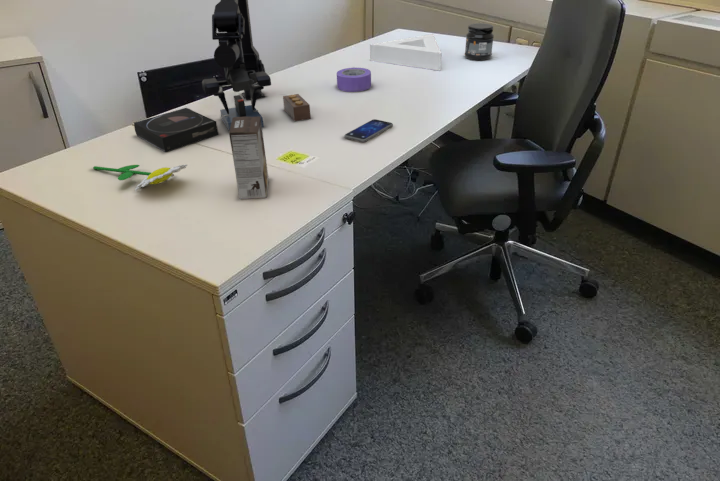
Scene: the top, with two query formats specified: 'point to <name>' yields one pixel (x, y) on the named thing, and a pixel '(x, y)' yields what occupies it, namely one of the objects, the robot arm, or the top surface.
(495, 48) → the top surface
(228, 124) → the dial panel
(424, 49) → the triangle block
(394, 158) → the top surface
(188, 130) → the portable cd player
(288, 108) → the token holder
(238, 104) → the black block red tip
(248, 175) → the coffee box
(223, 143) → the top surface
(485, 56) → the supplement container
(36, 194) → the top surface
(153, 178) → the decorative flower
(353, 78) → the tape roll
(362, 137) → the smartphone
